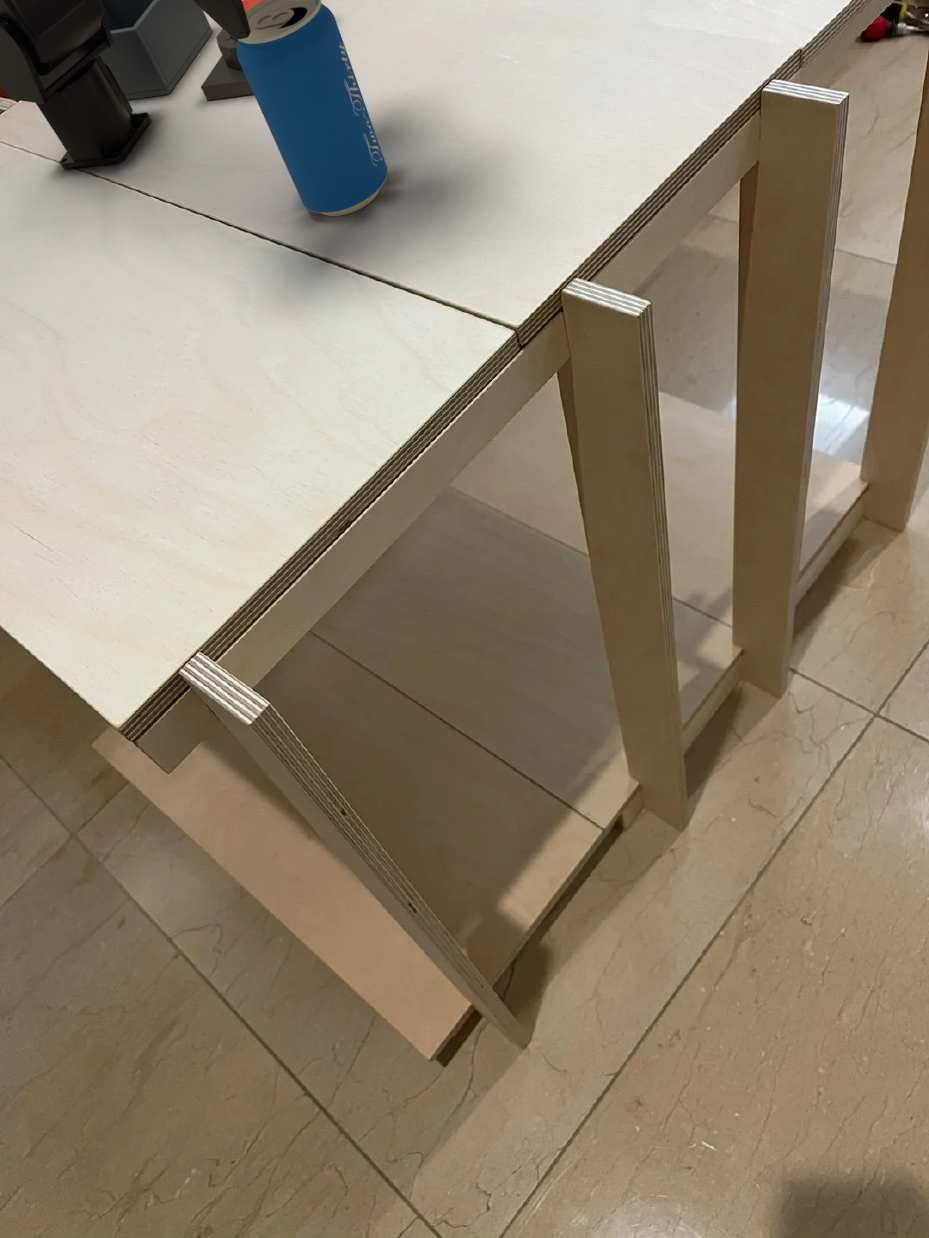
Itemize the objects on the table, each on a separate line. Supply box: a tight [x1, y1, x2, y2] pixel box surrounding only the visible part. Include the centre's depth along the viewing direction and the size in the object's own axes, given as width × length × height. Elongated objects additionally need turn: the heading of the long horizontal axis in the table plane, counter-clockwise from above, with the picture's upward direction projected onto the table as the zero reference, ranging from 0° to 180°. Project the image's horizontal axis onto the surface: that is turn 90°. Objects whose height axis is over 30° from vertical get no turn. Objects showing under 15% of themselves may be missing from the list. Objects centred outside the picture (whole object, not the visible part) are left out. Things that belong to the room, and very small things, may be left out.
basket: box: [100, 0, 214, 101], centre depth 82 cm, size 10×10×6 cm
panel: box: [200, 28, 254, 101], centre depth 78 cm, size 10×8×3 cm
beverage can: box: [237, 0, 389, 217], centre depth 59 cm, size 6×6×12 cm
